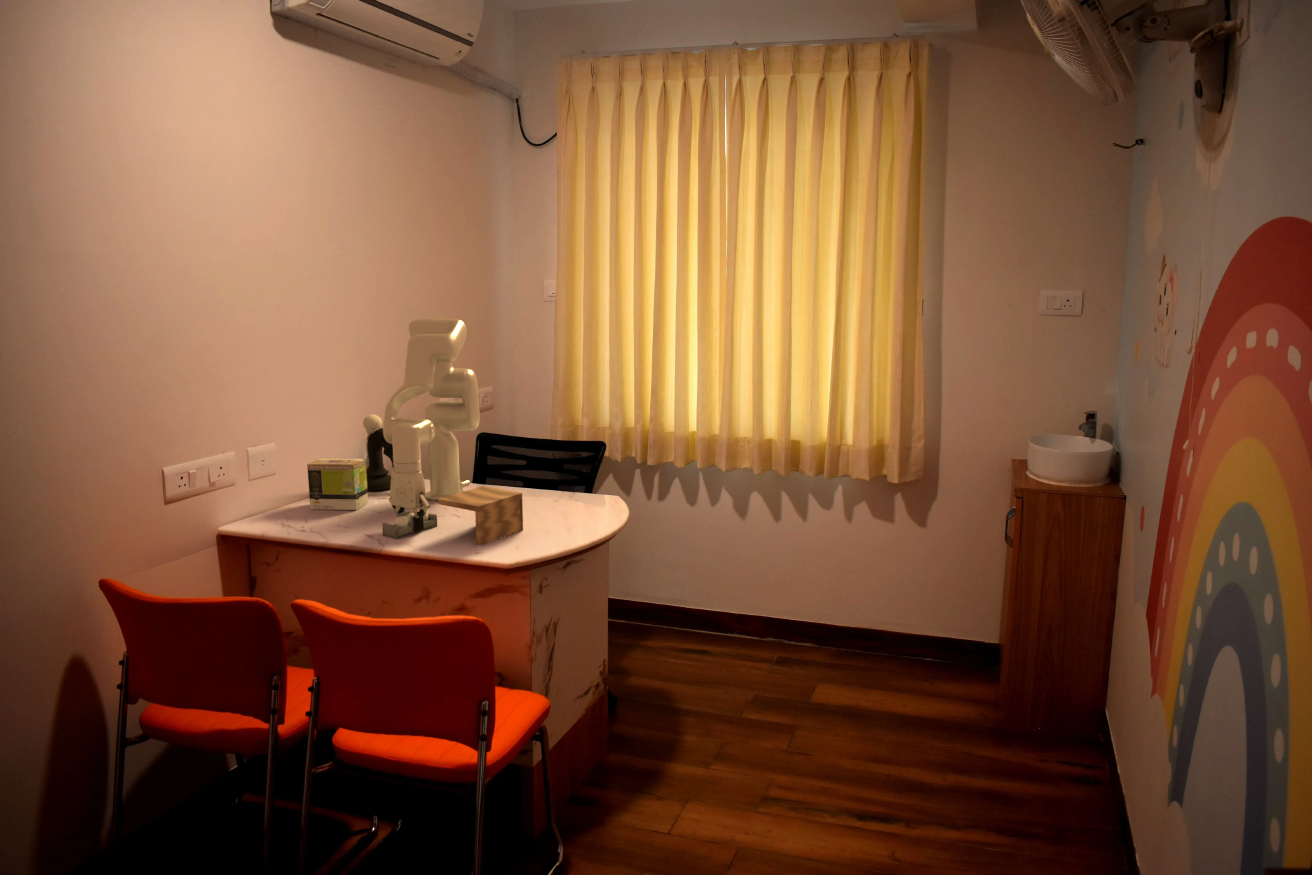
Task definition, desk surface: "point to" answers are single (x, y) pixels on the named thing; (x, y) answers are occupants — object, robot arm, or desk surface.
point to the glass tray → (407, 530)
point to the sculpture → (377, 455)
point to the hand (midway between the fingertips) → (410, 528)
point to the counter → (490, 511)
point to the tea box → (337, 483)
